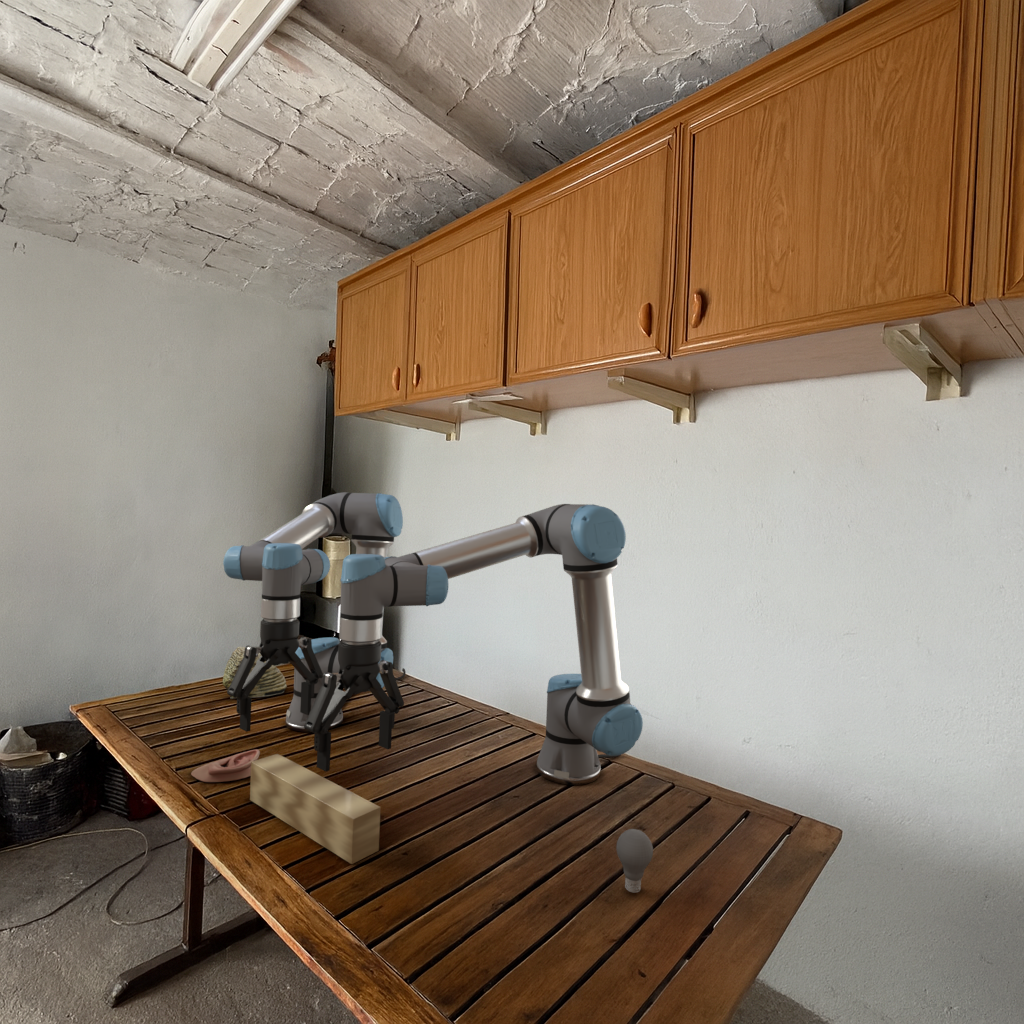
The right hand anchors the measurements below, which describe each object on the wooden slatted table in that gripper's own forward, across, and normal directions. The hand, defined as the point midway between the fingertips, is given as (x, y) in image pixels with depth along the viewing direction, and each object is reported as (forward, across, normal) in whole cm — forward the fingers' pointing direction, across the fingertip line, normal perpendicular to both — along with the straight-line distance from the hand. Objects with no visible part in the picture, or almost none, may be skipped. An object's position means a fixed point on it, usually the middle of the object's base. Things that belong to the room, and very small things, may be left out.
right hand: (355, 757), depth 114 cm
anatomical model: (+17, 0, -46) cm, 49 cm away
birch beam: (+17, 0, -13) cm, 21 cm away
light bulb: (+17, -24, +44) cm, 53 cm away
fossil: (+17, -33, -92) cm, 100 cm away
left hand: (0, 0, -26) cm, 26 cm away
